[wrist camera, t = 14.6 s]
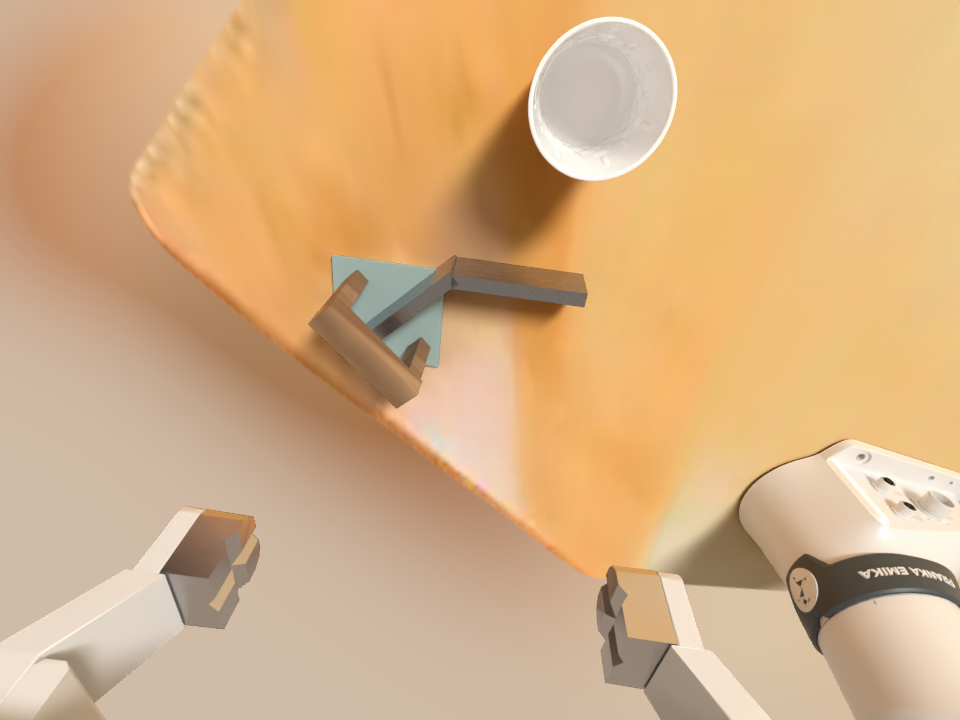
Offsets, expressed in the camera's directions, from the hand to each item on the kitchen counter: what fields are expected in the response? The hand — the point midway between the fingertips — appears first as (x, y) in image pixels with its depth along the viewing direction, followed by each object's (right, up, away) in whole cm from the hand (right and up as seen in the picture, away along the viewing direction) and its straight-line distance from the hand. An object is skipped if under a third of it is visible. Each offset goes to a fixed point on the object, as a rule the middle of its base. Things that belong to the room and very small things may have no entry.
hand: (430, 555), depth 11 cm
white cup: (+9, +24, +24) cm, 35 cm away
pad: (-7, +9, +34) cm, 36 cm away
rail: (0, +10, +33) cm, 34 cm away
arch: (-7, +9, +34) cm, 36 cm away
